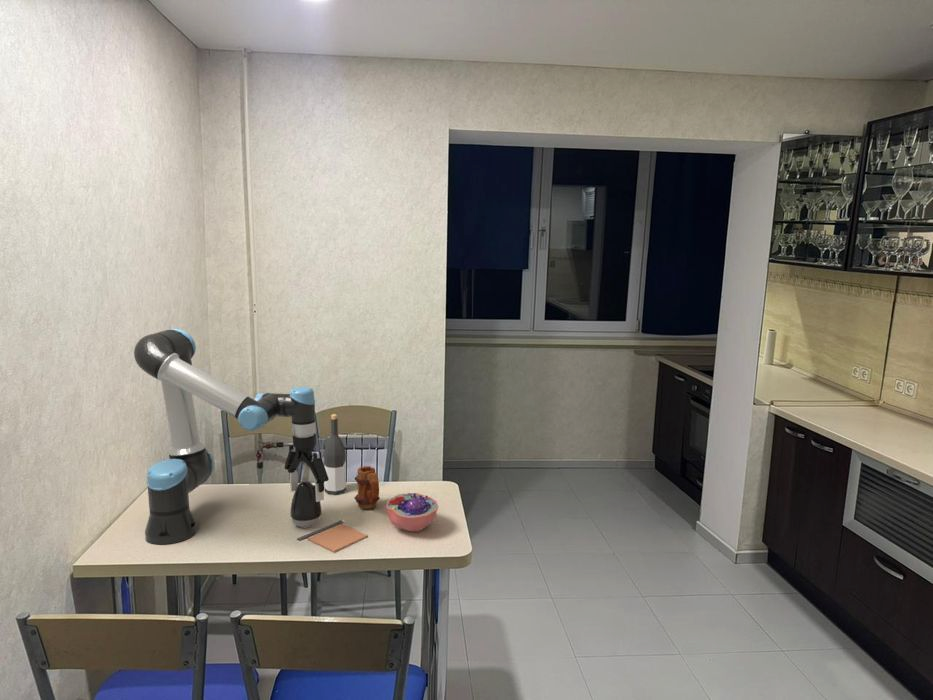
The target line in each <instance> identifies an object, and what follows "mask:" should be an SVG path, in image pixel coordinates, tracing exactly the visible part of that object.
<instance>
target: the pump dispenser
mask: <svg viewBox="0 0 933 700" xmlns="http://www.w3.org/2000/svg"><path fill="white" fill-rule="evenodd" d="M292 495H293V496H292V500H291V504H290V505H291V506H290V511H289V512H290V513H289V515H290V518H291V520H292V522H293V524H294V525H295V526H297V527H300V528H311V527H313V526H315V525H316V524H317V523H319V520H320V518H321V515H322V512H323V511H322V505H321V504H322V503H321V501H319V502H316V490H315V484H313V483H312V482H311V481H308V480H303V481H301V482H300V483H298V486H297V488H296V490H295V491H293V494H292Z"/></svg>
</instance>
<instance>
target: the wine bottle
mask: <svg viewBox="0 0 933 700" xmlns="http://www.w3.org/2000/svg"><path fill="white" fill-rule="evenodd" d="M330 417H331V418H330V436H329V438H328V440H327V442H326V445H325V446H324V449H323V450H324V451H323V464H324V466H325V469H326V472H327V475H328V478H329V480H328V481H325V482H324V492H325V493H326V494H327V495H331V496H338V495H342V494H345V492H346V491H347V456H346V455H347V451H346V448H345V445H344V443H343V441H342V438H341V437H340V436H339V432H338V431H339V427H338V425H339V424H338V423H339V422H338V420H339V418H338V415H337V414H336V413H333V414H331V415H330ZM324 478H325V477H324Z"/></svg>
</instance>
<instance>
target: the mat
mask: <svg viewBox="0 0 933 700" xmlns="http://www.w3.org/2000/svg"><path fill="white" fill-rule="evenodd" d="M368 537H369V535H368V534H366V533H364V532H361V531H359V530H357V529H355V528H352V527H350V526H347V525H345V524H344V523H341V524H339V525H336V526H334V527H332V528H329V529H327V530H325V531H322V532H320V533H318V534H315V535H313V536H311V537H308V538H306V539H307V541H308V542H311V543H313V544H315V545H317V546H319V547H321V548H323V549H325V550H327V551H330V552H331V553H333V554H335V553H337V552H339V551H342V550H343V549H345V548H348V547H350V546H351V545H354V544H356V543H359V542H361V541H362V540H364V539H367V538H368Z"/></svg>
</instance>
